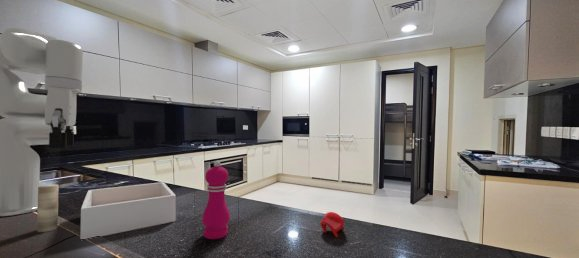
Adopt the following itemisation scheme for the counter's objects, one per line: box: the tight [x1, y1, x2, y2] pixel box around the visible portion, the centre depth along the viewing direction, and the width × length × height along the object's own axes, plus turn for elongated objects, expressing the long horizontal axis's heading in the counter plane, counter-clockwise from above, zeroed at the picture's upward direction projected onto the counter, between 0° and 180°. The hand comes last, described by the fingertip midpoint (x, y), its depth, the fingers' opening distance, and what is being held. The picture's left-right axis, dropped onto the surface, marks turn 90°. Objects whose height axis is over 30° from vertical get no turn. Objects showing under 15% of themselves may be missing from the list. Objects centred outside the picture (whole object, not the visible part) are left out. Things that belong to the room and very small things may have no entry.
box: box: [79, 181, 177, 240], centre depth 74 cm, size 22×22×8 cm
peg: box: [36, 184, 60, 233], centre depth 65 cm, size 4×4×12 cm
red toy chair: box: [320, 211, 345, 238], centre depth 66 cm, size 8×6×6 cm
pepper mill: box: [201, 160, 231, 240], centre depth 64 cm, size 7×7×20 cm
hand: (62, 146), depth 66 cm, fingers open, 9 cm apart
